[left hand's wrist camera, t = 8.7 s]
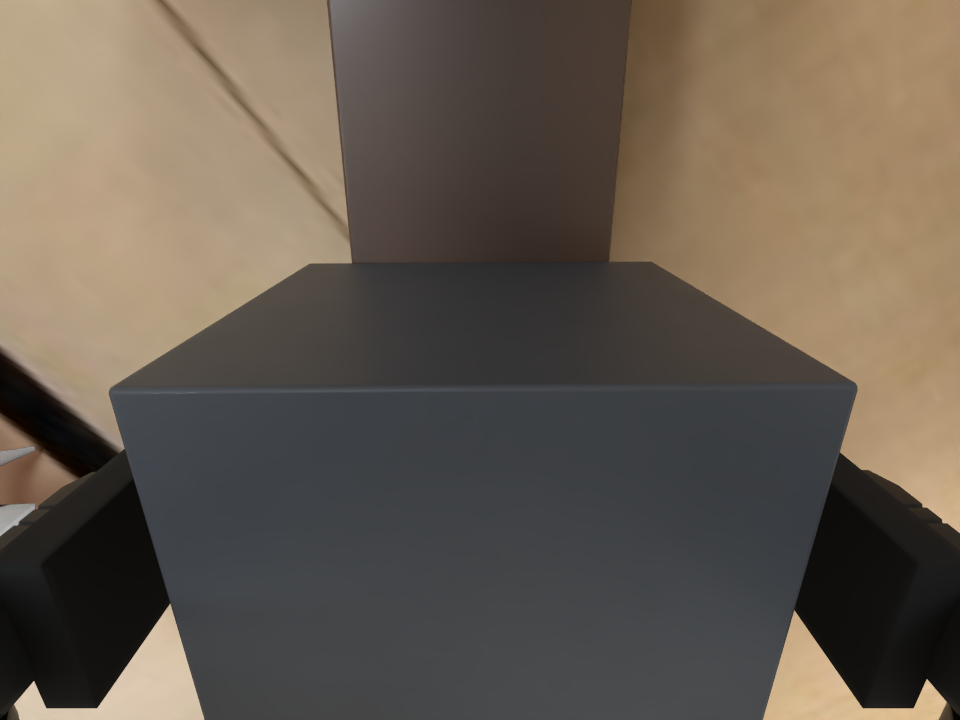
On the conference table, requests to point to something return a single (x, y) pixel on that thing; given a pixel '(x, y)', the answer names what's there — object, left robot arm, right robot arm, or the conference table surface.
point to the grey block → (483, 494)
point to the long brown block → (479, 127)
